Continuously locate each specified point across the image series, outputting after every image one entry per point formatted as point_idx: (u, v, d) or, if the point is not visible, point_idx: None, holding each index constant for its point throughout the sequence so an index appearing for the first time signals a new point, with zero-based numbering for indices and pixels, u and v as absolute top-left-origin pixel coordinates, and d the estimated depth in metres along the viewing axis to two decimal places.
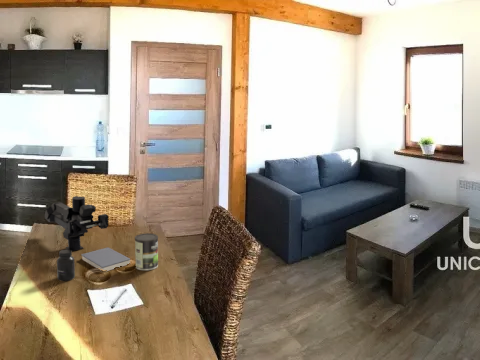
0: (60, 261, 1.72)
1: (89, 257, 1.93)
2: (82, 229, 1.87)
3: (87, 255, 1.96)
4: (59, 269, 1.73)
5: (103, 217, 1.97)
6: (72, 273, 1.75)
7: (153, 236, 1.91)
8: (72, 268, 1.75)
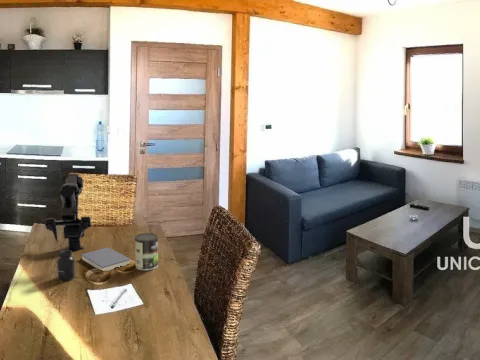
0: (60, 261, 1.72)
1: (89, 257, 1.93)
2: (54, 235, 1.82)
3: (87, 255, 1.96)
4: (59, 269, 1.73)
5: (83, 223, 1.85)
6: (72, 273, 1.75)
7: (153, 236, 1.91)
8: (72, 268, 1.75)
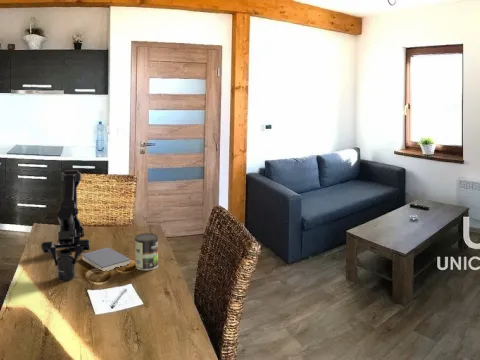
0: (60, 261, 1.72)
1: (89, 257, 1.93)
2: None
3: (87, 255, 1.96)
4: (59, 269, 1.73)
5: (78, 247, 1.77)
6: (72, 273, 1.75)
7: (153, 236, 1.91)
8: (72, 268, 1.75)
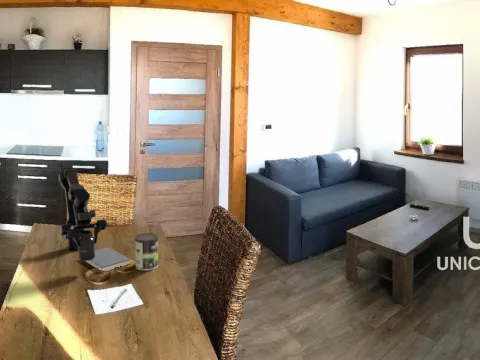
0: (83, 241, 1.77)
1: None
2: (75, 240, 1.78)
3: None
4: (82, 249, 1.77)
5: (98, 227, 1.83)
6: (94, 252, 1.81)
7: (153, 236, 1.91)
8: (94, 247, 1.81)
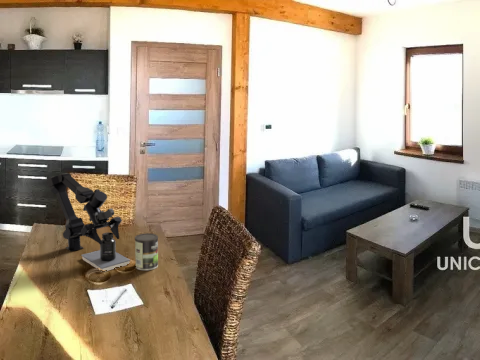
0: (108, 243, 1.89)
1: (89, 258, 1.93)
2: (97, 239, 1.87)
3: (87, 255, 1.96)
4: (107, 250, 1.89)
5: (117, 223, 1.96)
6: (115, 252, 1.94)
7: (153, 236, 1.91)
8: (115, 247, 1.93)
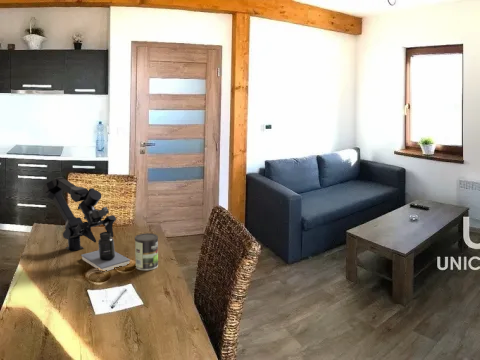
0: (106, 242, 1.89)
1: (89, 258, 1.93)
2: (91, 237, 1.89)
3: (87, 255, 1.96)
4: (106, 249, 1.89)
5: (112, 222, 1.98)
6: (114, 250, 1.94)
7: (153, 236, 1.91)
8: None
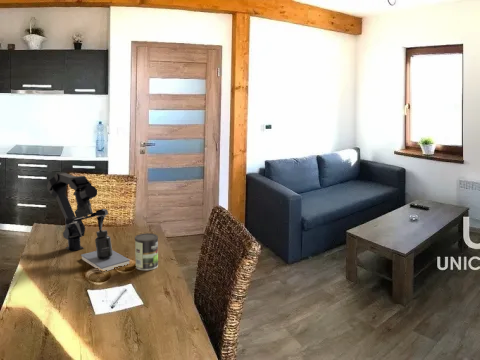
0: (104, 239, 1.91)
1: (89, 257, 1.93)
2: None
3: (87, 255, 1.96)
4: (104, 246, 1.91)
5: (99, 217, 1.94)
6: None
7: (153, 236, 1.91)
8: None
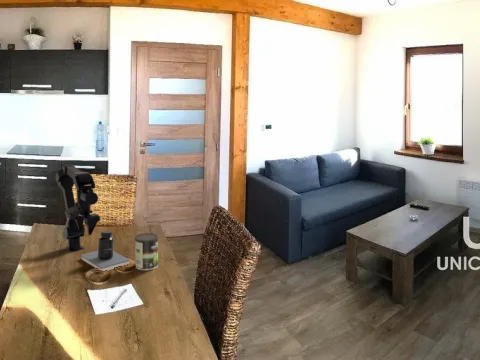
0: (108, 240, 1.91)
1: (88, 258, 1.93)
2: None
3: (87, 256, 1.96)
4: (107, 248, 1.91)
5: (86, 223, 1.88)
6: None
7: (153, 236, 1.91)
8: None
